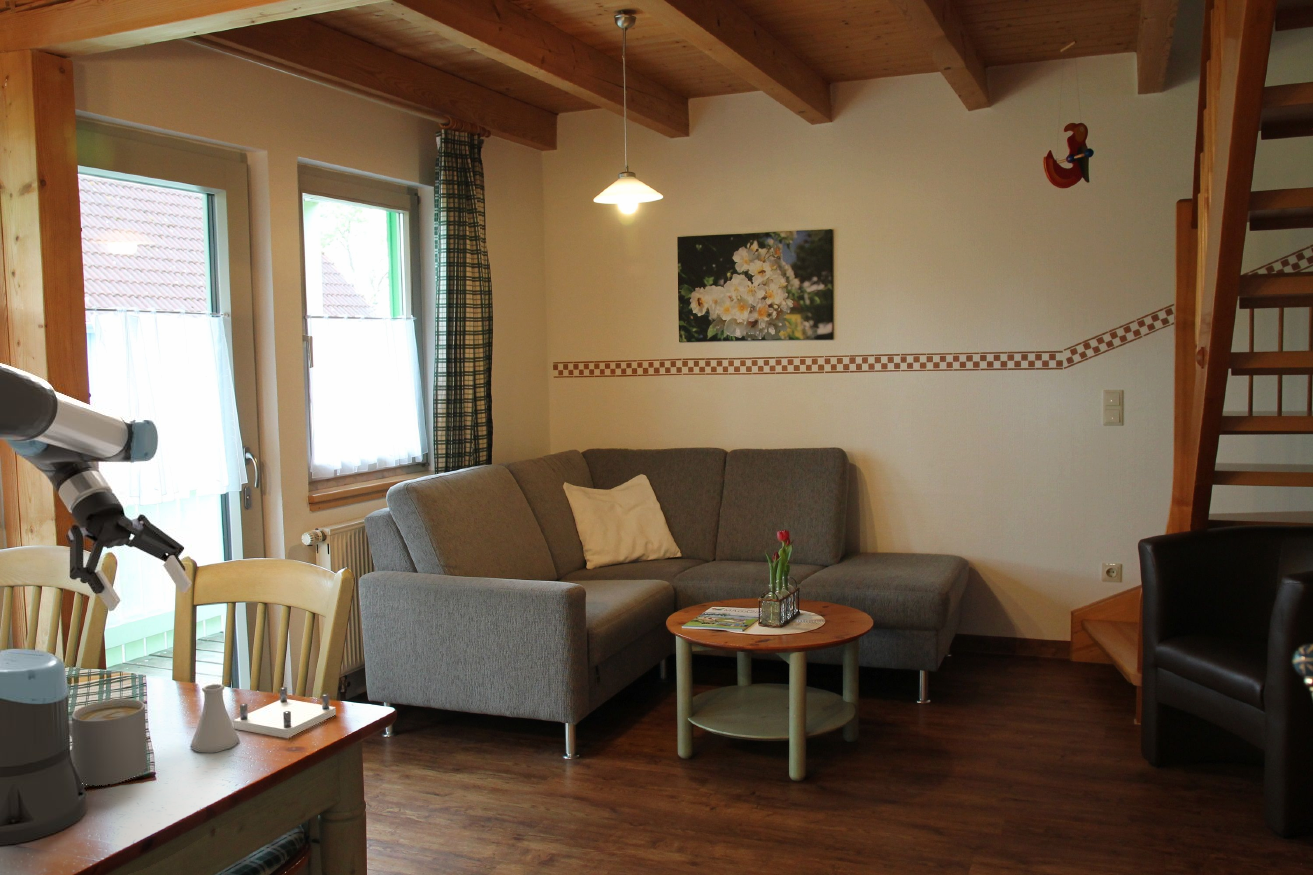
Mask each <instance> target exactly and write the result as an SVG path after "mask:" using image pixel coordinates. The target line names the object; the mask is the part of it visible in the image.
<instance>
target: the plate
mask: <svg viewBox="0 0 1313 875" xmlns="http://www.w3.org/2000/svg"><path fill="white" fill-rule="evenodd" d="M285 711H291V727H289V728H284V720H283V712H285ZM334 715H337V708H336V706H331V705H329V709H327V710H323V709H322V704H318V703H312V702H305V701H300V700H294V699H288V698H287V702H284V703H281V702H280V699H279V700H277V701H274V702H272V703H270V704H267V705H266V706H263V707H260V708H258V709H256V710H254V711H252V712H248V719H246V720H240V717H237V718H236V719H233V727H234V729H235V730H240V731H244V732H250V733H257V734H262V735H267V736H273V737H277V736H278V738H282V737H283V739H290V738H292V737H291V736H293V735H295V734H297V733H299V732H301V731H303V730H305V729H306V728H308V727H311V726H312V725H314V724H317V723H319V722H320V721H322V720H325V719H327V718H329V717H332V716H334ZM334 717H335V716H334ZM332 718H333V717H332ZM325 721H326V720H325ZM319 724H320V723H319ZM317 725H318V724H317ZM311 728H312V727H311ZM305 731H306V730H305ZM303 732H304V731H303ZM301 733H302V732H301ZM299 734H300V733H299ZM297 735H298V734H297ZM295 736H296V735H295ZM289 737H290V738H289ZM293 737H294V736H293Z"/></svg>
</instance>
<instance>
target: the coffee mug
mask: <svg viewBox="0 0 1313 875" xmlns="http://www.w3.org/2000/svg"><path fill="white" fill-rule="evenodd" d="M71 714H72V715H71V721H70V720H69V736H70V737H71V745H72V746H71V748H70V757H71V761H72V763H73V765H74V767H75V769H76V772H77V774H78V776H79V778H80V780H81V782H82V783H83V784H87V785H90V786H91V787H99V785H100V787H102V786H109V785H108V784H110V785H114V784H119V782H120V783H122V781H123V782H126V781H125V780H127V781H129V780H131V779H130V778H132V777H134V776H137V775H139V774H140V773H142V772H143V771H144V770H145V769H146V768H147V769H148V754H147V753H148V752H147V749H148V748H147V727H146V725H147V724H146V722H147V721H146V705H145V703H144V702H143V701H142V700H138V699H133V698H117V699H107V700H103V701H101V700H100V701H96V702H93V703H89V704H86V705H84V706H82V707H79V708H78V709H76V710H74V711H73V712H72V713H71ZM147 769H146V770H147ZM146 770H145V771H146ZM145 771H144V772H145ZM144 772H143V773H144ZM143 773H142V774H143ZM140 775H141V774H140ZM140 775H139V776H140ZM137 777H138V776H137ZM128 779H129V780H128ZM132 779H133V778H132ZM87 785H86V786H87ZM92 785H94V786H92ZM101 785H102V786H101ZM90 786H89V787H90Z"/></svg>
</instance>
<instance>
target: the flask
mask: <svg viewBox="0 0 1313 875" xmlns="http://www.w3.org/2000/svg"><path fill="white" fill-rule="evenodd" d="M225 688H226V687H225V685H224V684H221V683H213V684H212V683H211V684H209V685H208V684H207V685H205V686H203V687H202V688H201V690H202V692H203V693H204V695H203V696H204V700H203V708H202V712H201V715H200V718H199V721H198V724H197V727H196V730H195V732H194V735H193V736H192V741H191V743H190V745H189V747H190V749H193V750H194V751H196V752H197V753H199V752H200V753H217V752H220V751H224V750H227V749H232V748H233V747H234V746H236V745H237V744H239V743H240V742H241V739H240V737H239V735H238V733H237V730H236V729H234V724H233V722H232V720H231V718H230V716H229V713H228V711H227V708H226V706H225V705H226V704H225V701H224V692H223V691H224V690H225Z"/></svg>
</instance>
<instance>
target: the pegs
mask: <svg viewBox="0 0 1313 875" xmlns="http://www.w3.org/2000/svg"><path fill="white" fill-rule="evenodd" d="M286 696H287V697H286ZM287 699H288V688H287V687H286V686H282V687H280V688H279V700H280V702H281V703H284V702H287ZM321 702H322V703H321V705H322V709H323V710H327V709H329V706H330V694H329V693H323V694H321ZM248 714H249V712H248V703H241V704H240V705H239V718H240V720H246V719H248ZM283 720H284V728H289V727H291V711H285V712H283Z"/></svg>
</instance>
